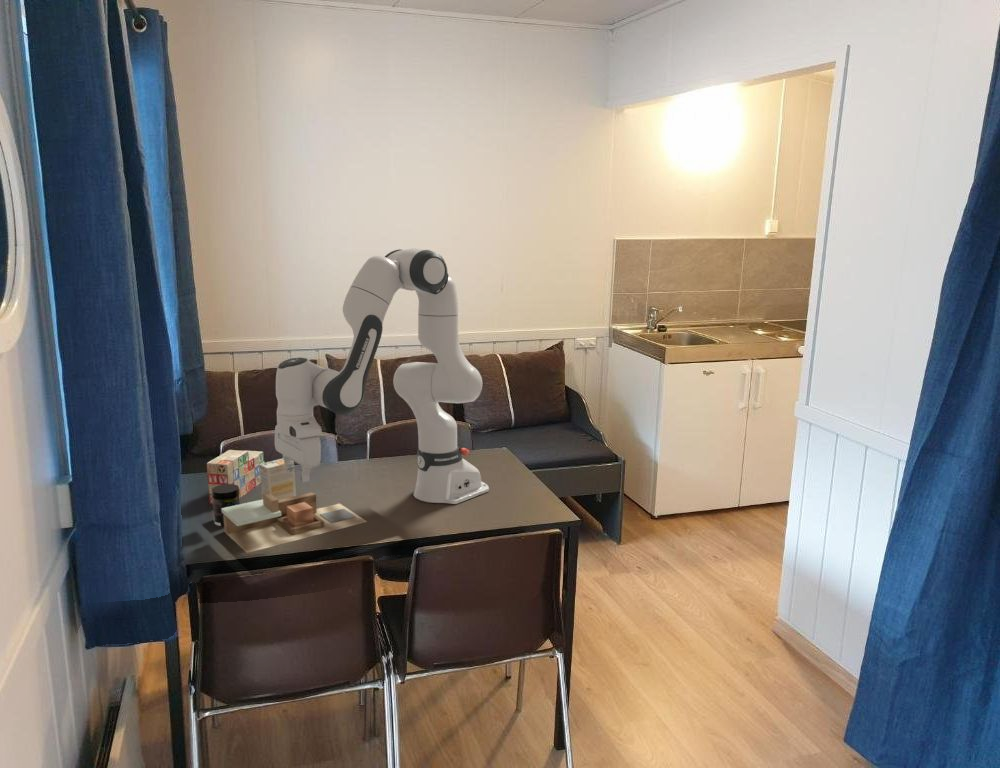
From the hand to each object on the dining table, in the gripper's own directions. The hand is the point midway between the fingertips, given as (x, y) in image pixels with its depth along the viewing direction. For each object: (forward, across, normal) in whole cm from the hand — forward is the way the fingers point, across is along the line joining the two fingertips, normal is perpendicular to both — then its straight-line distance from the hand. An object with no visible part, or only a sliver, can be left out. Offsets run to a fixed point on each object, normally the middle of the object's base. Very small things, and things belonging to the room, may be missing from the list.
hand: (297, 476), depth 198 cm
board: (+15, 0, 0) cm, 15 cm away
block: (+13, 0, 0) cm, 13 cm away
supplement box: (+15, -19, +2) cm, 24 cm away
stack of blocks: (+15, -38, -2) cm, 41 cm away
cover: (+8, -2, -12) cm, 14 cm away
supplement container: (+15, -14, -14) cm, 25 cm away
